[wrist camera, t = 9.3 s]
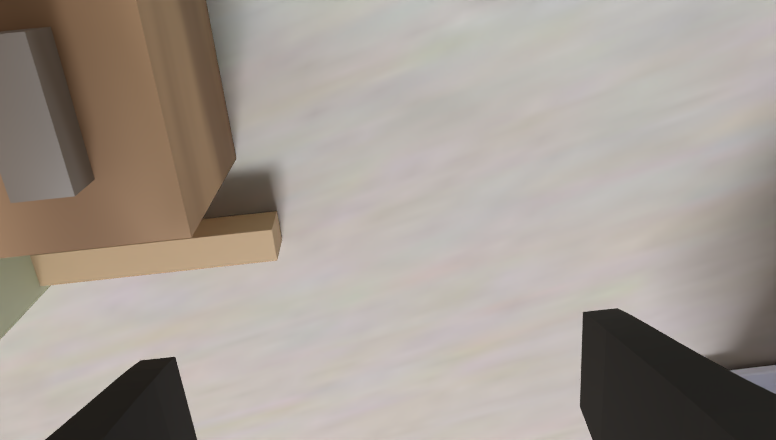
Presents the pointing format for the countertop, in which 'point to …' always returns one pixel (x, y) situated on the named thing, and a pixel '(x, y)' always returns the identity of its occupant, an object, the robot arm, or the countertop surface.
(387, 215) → the countertop surface
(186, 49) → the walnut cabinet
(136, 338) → the countertop surface
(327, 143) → the countertop surface
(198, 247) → the wall board
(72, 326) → the countertop surface
